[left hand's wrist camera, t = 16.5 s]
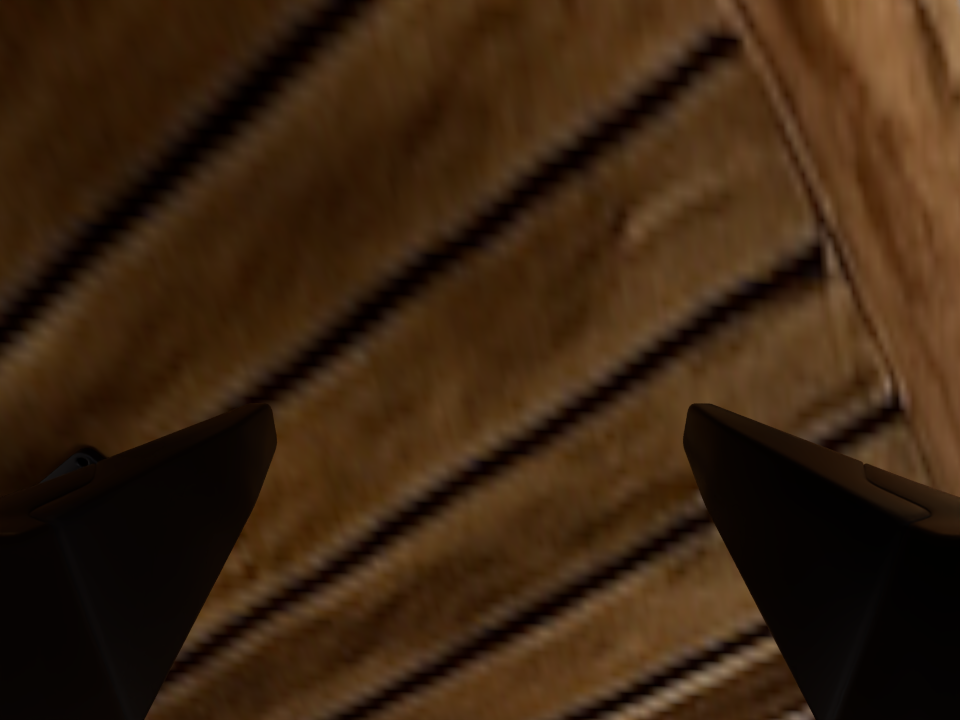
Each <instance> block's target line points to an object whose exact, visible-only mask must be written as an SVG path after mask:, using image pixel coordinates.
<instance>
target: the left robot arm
mask: <svg viewBox="0 0 960 720" xmlns="http://www.w3.org/2000/svg"><path fill="white" fill-rule="evenodd" d="M276 446H277V436H276V430H275V424H274V418H273V412H272V409H271V407H270V406H269V405H268V404H265V403H264V404H247V405H245V406H242V407H239V408H237V409H234V410H232V411H229V412H226V413H224V414H221V415H219V416H216V417H213V418H211V419H208V420H206V421H203V422H200V423H198V424H195V425H193V426H190V427H187V428H185V429H182V430H179V431H177V432H174V433H172V434H169V435H166V436H164V437H161V438H159V439H156V440H153V441H151V442H148V443H146V444H143V445H140V446H138V447H135V448H133V449H130V450H127V451H125V452H122V453H120V454H117V455H114V456H112V457H109V458H107V459H104V458H102V457H101V456H100V455H99V454H98V453H96V452H95V451H93V450H92V449H88V448H82V449H80V450H79V451H77V452H76V453H75V454H73V455H72V456H71V457H70V458H69V459H67V460H66V461H65V462H64V463H63V464H61V465H60V466H59V467H58V468H57V469H56V470H54V471H53V472H52V473H51V474H50V475H48V476H47V477H46V478H45V479H44V480H43V481H41V482H40V483H39V484H37V485H34V486H31V487H29V488H26V489H23V490H20V491H17V492H14V493H11V494H9V495H6V496H3V497H0V720H144V719H145V717H146V715H147V713H148V711H149V709H150V707H151V706H152V704H153V702H154V700H155V698H156V696H157V694H158V692H159V690H160V688H161V686H162V684H163V682H164V680H165V678H166V676H167V675H168V673H169V671H170V669H171V667H172V665H173V663H174V661H175V659H176V657H177V655H178V653H179V651H180V649H181V647H182V645H183V644H184V642H185V640H186V638H187V636H188V634H189V632H190V630H191V628H192V626H193V624H194V622H195V620H196V618H197V616H198V615H199V613H200V611H201V609H202V607H203V605H204V603H205V601H206V599H207V597H208V595H209V593H210V591H211V589H212V587H213V585H214V584H215V582H216V580H217V578H218V576H219V574H220V572H221V570H222V568H223V566H224V564H225V562H226V560H227V558H228V556H229V555H230V553H231V551H232V549H233V547H234V545H235V543H236V541H237V539H238V537H239V535H240V533H241V531H242V529H243V527H244V525H245V524H246V522H247V520H248V518H249V516H250V514H251V512H252V510H253V508H254V506H255V503H256V501H257V498H258V496H259V493H260V490H261V488H262V485H263V482H264V480H265V477H266V474H267V471H268V469H269V466H270V463H271V461H272V458H273V455H274V452H275V450H276ZM683 446H684V450H685V452H686V455H687V458H688V461H689V463H690V466H691V469H692V471H693V474H694V477H695V480H696V482H697V485H698V488H699V490H700V493H701V496H702V498H703V501H704V503H705V506H706V508H707V510H708V512H709V514H710V516H711V518H712V520H713V522H714V524H715V525H716V527H717V529H718V531H719V533H720V535H721V537H722V539H723V541H724V543H725V545H726V547H727V549H728V551H729V553H730V555H731V556H732V558H733V560H734V562H735V564H736V566H737V568H738V570H739V572H740V574H741V576H742V578H743V580H744V582H745V584H746V585H747V587H748V589H749V591H750V593H751V595H752V597H753V599H754V601H755V603H756V605H757V607H758V609H759V611H760V613H761V615H762V616H763V618H764V620H765V622H766V624H767V626H768V628H769V630H770V632H771V634H772V636H773V638H774V640H775V642H776V644H777V645H778V647H779V649H780V651H781V653H782V655H783V657H784V659H785V661H786V663H787V665H788V667H789V669H790V671H791V673H792V675H793V676H794V678H795V680H796V682H797V684H798V686H799V688H800V690H801V692H802V694H803V696H804V698H805V700H806V702H807V704H808V706H809V707H810V709H811V711H812V713H813V715H814V717H815V719H816V720H960V497H957V496H954V495H951V494H949V493H946V492H943V491H940V490H937V489H934V488H931V487H929V486H926V485H923V484H920V483H917V482H914V481H912V480H909V479H906V478H904V477H901V476H898V475H896V474H893V473H890V472H888V471H885V470H882V469H880V468H877V467H874V466H872V465H869V464H864V465H863V462H861V461H859V460H856V459H853V458H851V457H848V456H846V455H843V454H840V453H838V452H835V451H833V450H830V449H827V448H825V447H822V446H820V445H817V444H814V443H812V442H809V441H807V440H804V439H801V438H799V437H796V436H794V435H791V434H788V433H786V432H783V431H781V430H778V429H775V428H773V427H770V426H767V425H765V424H762V423H760V422H757V421H754V420H752V419H749V418H747V417H744V416H741V415H739V414H736V413H734V412H731V411H728V410H726V409H723V408H721V407H718V406H715V405H713V404H692V405H691V406H690V407H689V409H688V412H687V418H686V424H685V430H684V436H683ZM83 458H84V459H86V460H87V461H88V462H87V461H85V460H84V459H83Z"/></svg>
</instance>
